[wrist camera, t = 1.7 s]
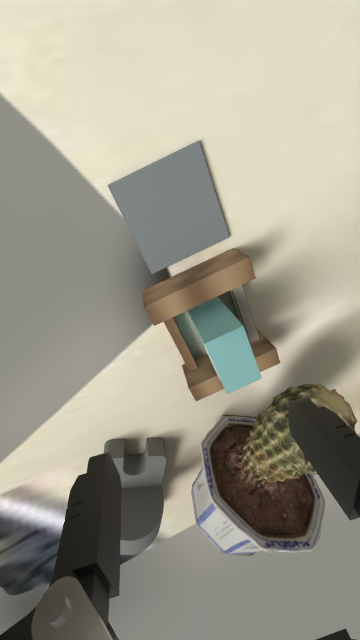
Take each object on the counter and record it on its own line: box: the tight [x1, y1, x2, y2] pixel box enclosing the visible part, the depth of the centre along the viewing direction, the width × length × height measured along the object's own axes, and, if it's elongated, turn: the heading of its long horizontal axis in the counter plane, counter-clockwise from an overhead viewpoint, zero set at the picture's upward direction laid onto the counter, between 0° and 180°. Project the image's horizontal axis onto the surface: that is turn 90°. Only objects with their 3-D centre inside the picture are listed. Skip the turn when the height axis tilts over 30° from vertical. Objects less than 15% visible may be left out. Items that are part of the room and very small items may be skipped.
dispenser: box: [142, 249, 280, 401], centre depth 32 cm, size 12×15×5 cm
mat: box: [108, 141, 229, 274], centre depth 28 cm, size 10×10×1 cm
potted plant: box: [191, 384, 357, 556], centre depth 35 cm, size 18×18×30 cm
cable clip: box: [104, 438, 167, 555], centre depth 40 cm, size 10×18×11 cm, turn 172°
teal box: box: [187, 296, 262, 394], centre depth 30 cm, size 4×7×10 cm, turn 23°
